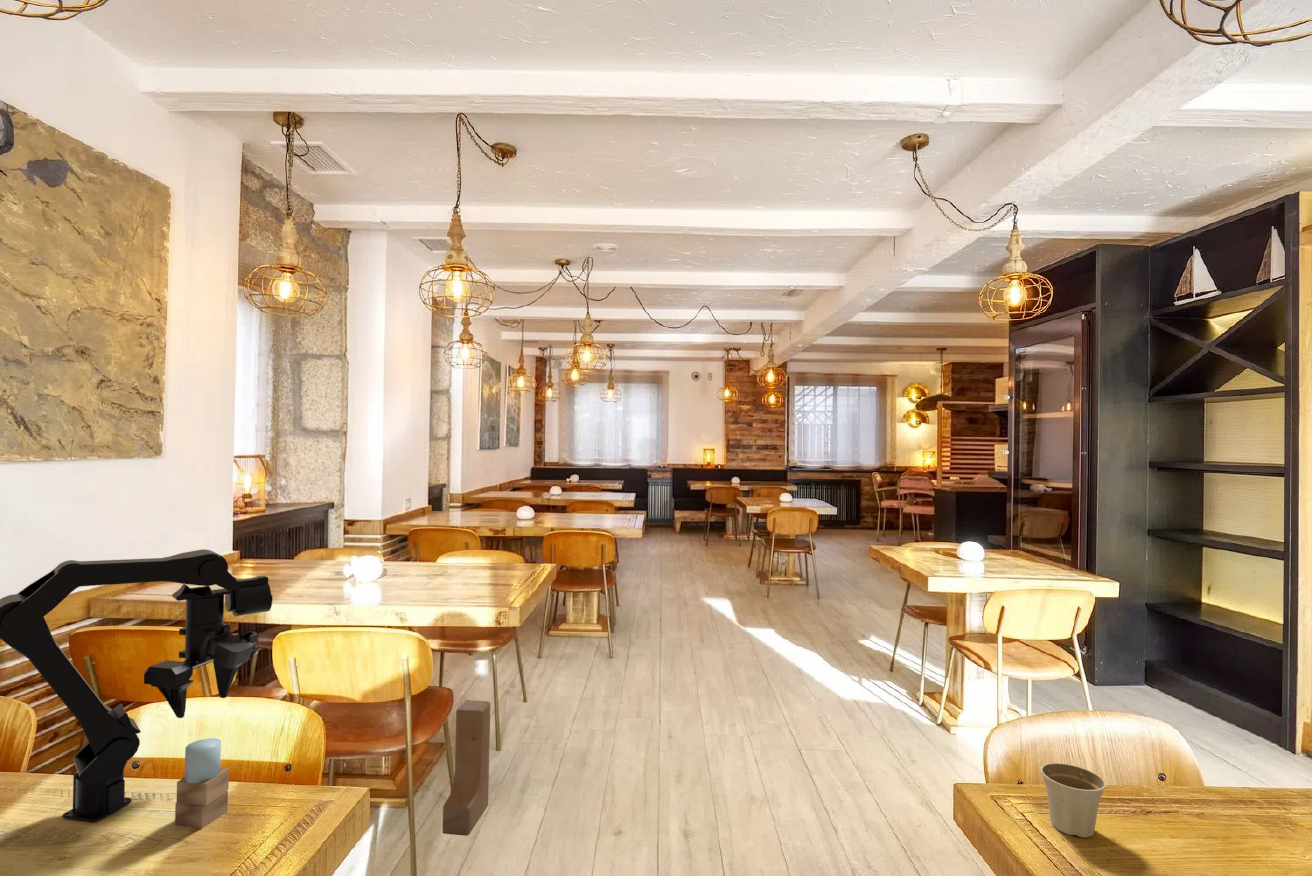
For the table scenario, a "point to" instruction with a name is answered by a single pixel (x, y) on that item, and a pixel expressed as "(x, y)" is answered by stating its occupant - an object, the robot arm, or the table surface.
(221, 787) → the upper block
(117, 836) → the table surface
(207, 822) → the lower block
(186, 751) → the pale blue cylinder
